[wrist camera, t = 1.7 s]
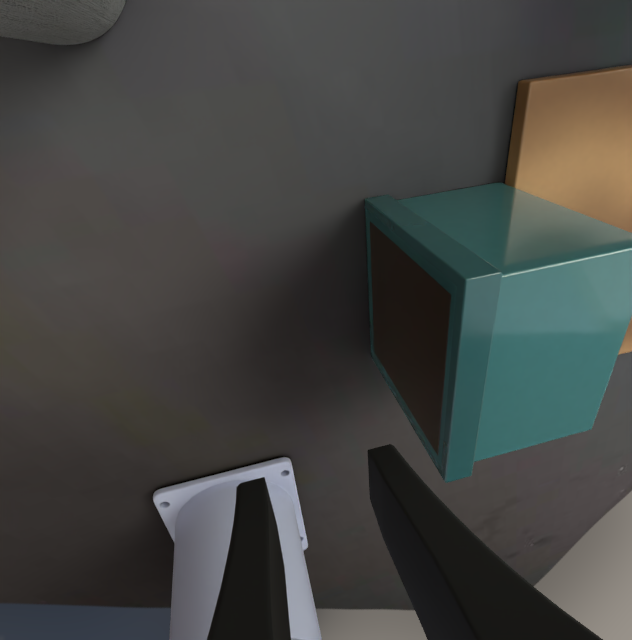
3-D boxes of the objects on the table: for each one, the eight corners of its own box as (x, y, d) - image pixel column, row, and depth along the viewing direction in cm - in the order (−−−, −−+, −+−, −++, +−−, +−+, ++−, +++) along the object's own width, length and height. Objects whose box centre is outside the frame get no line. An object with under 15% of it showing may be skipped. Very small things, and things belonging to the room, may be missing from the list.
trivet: (645, 338, 27) (657, 345, 27) (477, 380, 26) (484, 389, 25) (759, 46, 19) (780, 45, 18) (517, 80, 17) (530, 80, 16)
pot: (480, 331, 24) (596, 440, 17) (370, 356, 23) (445, 483, 16) (501, 174, 19) (672, 235, 12) (363, 198, 18) (464, 279, 11)
